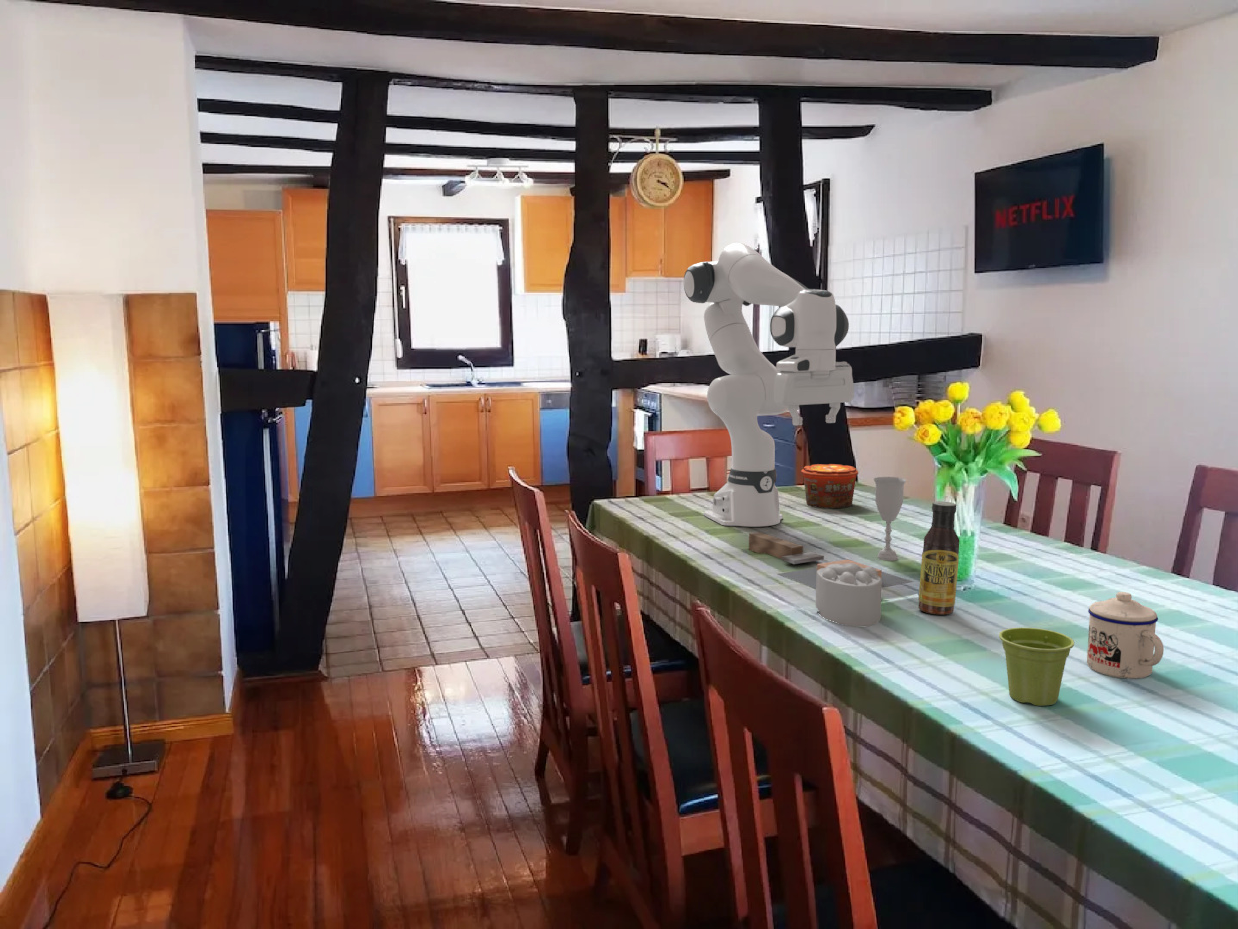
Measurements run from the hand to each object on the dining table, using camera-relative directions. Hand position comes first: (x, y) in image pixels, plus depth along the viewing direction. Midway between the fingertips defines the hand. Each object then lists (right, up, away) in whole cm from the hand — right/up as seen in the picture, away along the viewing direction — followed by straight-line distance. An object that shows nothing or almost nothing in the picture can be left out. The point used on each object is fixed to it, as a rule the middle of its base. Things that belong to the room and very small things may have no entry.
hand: (814, 424), depth 210 cm
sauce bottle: (+13, -36, -42) cm, 57 cm away
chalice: (+15, -30, -6) cm, 34 cm away
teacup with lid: (+31, -40, -72) cm, 88 cm away
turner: (-8, -30, -3) cm, 31 cm away
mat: (+1, -33, -22) cm, 39 cm away
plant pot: (+13, -42, -81) cm, 92 cm away
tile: (0, -30, -19) cm, 36 cm away
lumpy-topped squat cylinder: (-3, -36, -44) cm, 57 cm away
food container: (+16, -21, +58) cm, 64 cm away
